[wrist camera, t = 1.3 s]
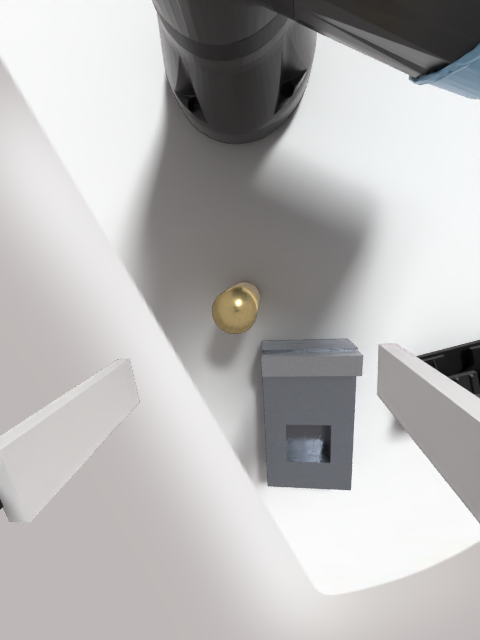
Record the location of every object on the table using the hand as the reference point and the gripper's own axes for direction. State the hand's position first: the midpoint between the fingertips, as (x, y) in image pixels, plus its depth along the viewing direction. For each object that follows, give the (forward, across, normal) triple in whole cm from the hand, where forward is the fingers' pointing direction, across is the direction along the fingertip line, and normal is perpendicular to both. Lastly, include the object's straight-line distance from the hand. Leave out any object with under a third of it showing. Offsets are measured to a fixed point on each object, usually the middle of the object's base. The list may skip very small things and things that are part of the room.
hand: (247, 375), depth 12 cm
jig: (+19, +5, -15) cm, 24 cm away
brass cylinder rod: (+19, -2, +1) cm, 19 cm away
